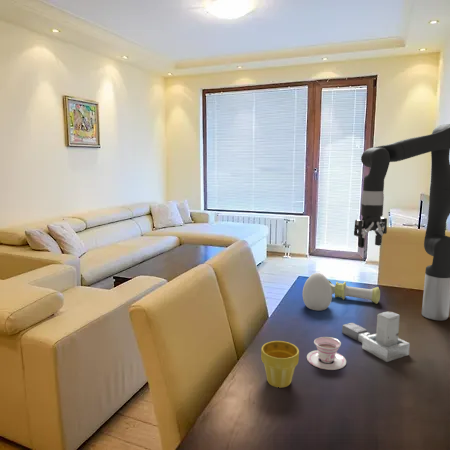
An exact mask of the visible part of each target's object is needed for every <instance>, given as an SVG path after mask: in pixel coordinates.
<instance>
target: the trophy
mask: <svg viewBox="0 0 450 450" xmlns="http://www.w3.org/2000/svg"><path fill="white" fill-rule="evenodd" d="M328 281H329V283H330V285H331V289H332V295H334V298H341V299H342V300H343V301H344V300H345V298H346V297H350V298H357V299H365V300H369V301H371V302H372V303H374V304H376V305H377V304H378V303H379V302H380V298H381V290H380V288H379V286H376V287H373V288H362V287H355V286H348V285H347V283H346V281H344V282H343V283H342V282H339V281H336V283H335V284H334V283H332V281H331V280H329V279H328Z"/></svg>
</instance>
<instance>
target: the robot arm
mask: <svg viewBox="0 0 450 450" xmlns="http://www.w3.org/2000/svg"><path fill="white" fill-rule="evenodd" d="M427 153H430V154H431V155H430V156H431V159H430V160H431V163H430V164H431V167H430V168H431V170H430V184H429V185H430V186H429V195H428V196H429V197H428V198H429V200H428V212H427V213H428V215H427V222H426V223H427V225H426V228H425V229H426V231H425V234H424V240H423V248H424V251H425V253H427V254H428V255H429V256H431V257H432V263H431V264H430V265H427V266H426V267H425V275H424V284H423V295H422V307H421V316H423V317H425V318H426V319H429V320H433V321H446V320H448V318H449V317H450V236H448V235H446V229H447V228H446V227H447V220H448V218H449V216H450V123H448V124H441V125H437V126H436V127H434V128H433V131H432V132H431V134H427V135H422V136H416V137H415V136H414V137H409V138H406V139H402V140H398V141H395V142H392V143H389V144H385V145H379V146H374V147H369V148H367V149H366V150H364V151H363V153H362V155H361V159H360V160H361V163H362V164H363V166H364V167H365V168H369V169H370V170H369V174H367V175H365V176H364V178H363V186H362V187H363V188H362V189H363V191H362V195H361V204H360V205H361V207H360V208H361V209H360V215H361V219H355V220H354V230H353V236H356V237H357V238H358V239H357V246H358V247H359V248H361V249H365V244H366V243H365V241H366V238H365V237H366V235H367V234H369V232H372V231H373V232H374V234H375V237H374V238H375V239H374V245H375V246H377V247H378V246H379V247H380V246H382V241H383V236H384V235H386V234H387V232H388V230H387V229H388V219H387V217H383V215H384V204H385V203H384V200H385V199H384V198H385V195H384V192H385V191H384V190H385V189H384V188H385V179H386V176H387V173H388V170H389V167H390V163H395V162H400V161H404V160H407V159H411V158H414V157H418V156H420V155H424V154H427Z"/></svg>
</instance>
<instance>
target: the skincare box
mask: <svg viewBox="0 0 450 450" xmlns="http://www.w3.org/2000/svg"><path fill="white" fill-rule="evenodd" d="M376 317H377V319H376V330H375V331H376V333H375V334H376V342H378V343H379V344H381V345H383V346H385V347H391V346H394V345H397V344H398V338H399V330H400V314H398V313H396V312H393V311H391V310H388V311H383V312H380V313H378V314H377V316H376Z"/></svg>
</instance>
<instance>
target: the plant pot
mask: <svg viewBox="0 0 450 450" xmlns="http://www.w3.org/2000/svg"><path fill="white" fill-rule="evenodd" d="M260 355H261V356H260V359H261V361H262V364H264V365H263V366H264V369H265V370H264V371H265V375H266V380H267V383H268V384H269V385H270V386H272V387H274V388H278V387H279V388H280V389H281V388H287V387H289V386H290V385H291V383H292V381H293V377H294V373H295V370H296V369H295V368H296V367H297V366H298V364H299V361H300V350H299V347H298V346H296V344H293V343H291V342H288V341H286V340H285V341H283V340H272V341H268V342H266V343H264V344H263V345H262V346H261V351H260Z"/></svg>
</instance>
